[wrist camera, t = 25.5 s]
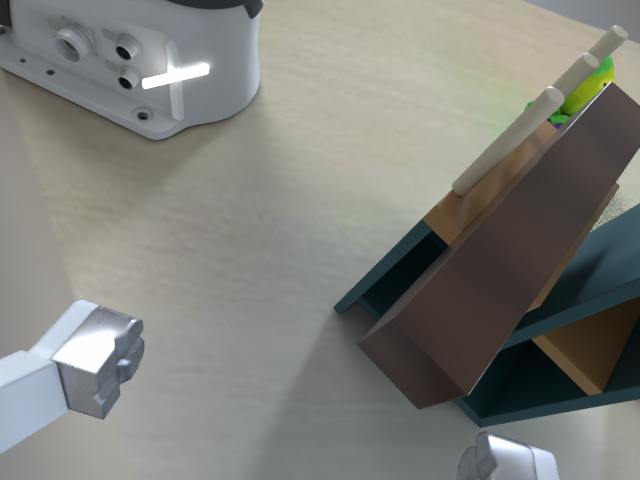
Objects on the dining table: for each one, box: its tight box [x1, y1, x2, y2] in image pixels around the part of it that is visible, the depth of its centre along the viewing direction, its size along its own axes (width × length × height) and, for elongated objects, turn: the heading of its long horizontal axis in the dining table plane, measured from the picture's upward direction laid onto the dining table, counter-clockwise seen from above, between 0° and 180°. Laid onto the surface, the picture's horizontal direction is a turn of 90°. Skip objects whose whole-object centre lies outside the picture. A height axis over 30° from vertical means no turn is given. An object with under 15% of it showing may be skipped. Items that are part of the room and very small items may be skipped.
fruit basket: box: [524, 55, 615, 130], centre depth 50 cm, size 11×9×11 cm
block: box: [357, 81, 640, 410], centre depth 23 cm, size 22×4×4 cm, turn 137°
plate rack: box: [334, 26, 640, 428], centre depth 28 cm, size 12×15×26 cm
